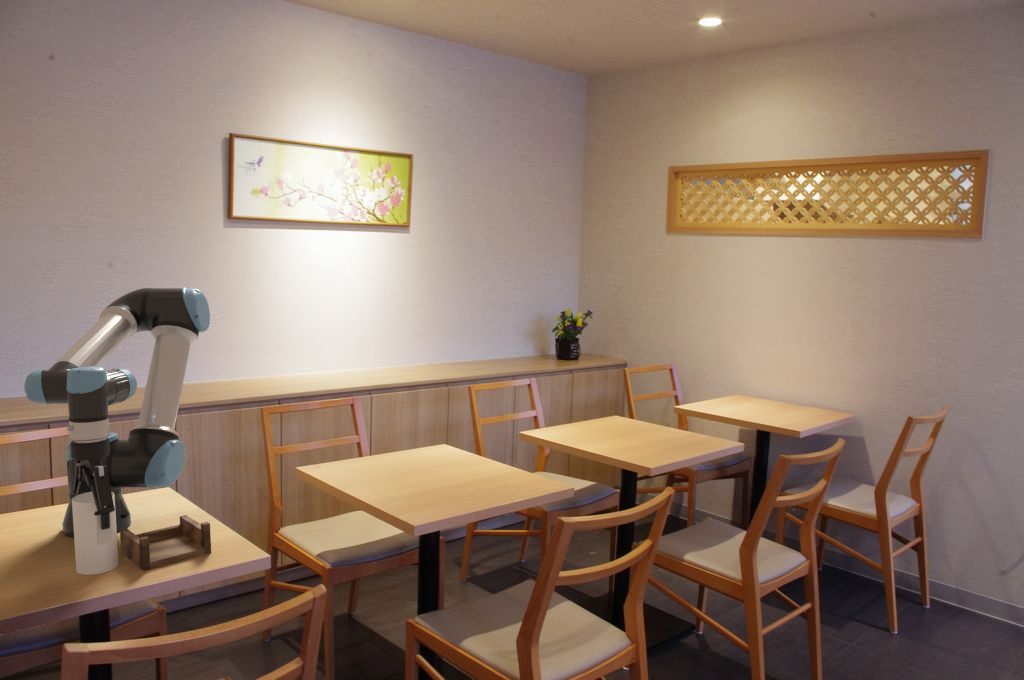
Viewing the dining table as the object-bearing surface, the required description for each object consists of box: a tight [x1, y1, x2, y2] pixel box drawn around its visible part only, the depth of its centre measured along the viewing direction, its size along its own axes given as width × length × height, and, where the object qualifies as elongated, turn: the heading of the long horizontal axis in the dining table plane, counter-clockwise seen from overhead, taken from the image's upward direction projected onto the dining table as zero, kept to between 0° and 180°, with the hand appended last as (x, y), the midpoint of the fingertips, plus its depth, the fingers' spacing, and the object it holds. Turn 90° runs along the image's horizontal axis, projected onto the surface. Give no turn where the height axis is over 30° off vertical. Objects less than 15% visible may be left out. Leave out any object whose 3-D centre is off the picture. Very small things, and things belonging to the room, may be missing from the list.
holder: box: [119, 514, 212, 572], centre depth 182 cm, size 14×15×7 cm
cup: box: [72, 492, 119, 576], centre depth 173 cm, size 8×8×16 cm
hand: (94, 535), depth 173 cm, fingers open, 13 cm apart
